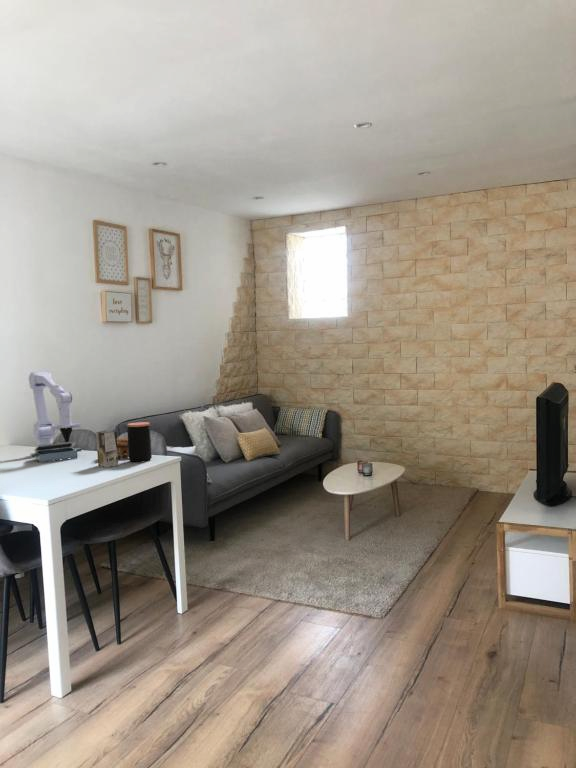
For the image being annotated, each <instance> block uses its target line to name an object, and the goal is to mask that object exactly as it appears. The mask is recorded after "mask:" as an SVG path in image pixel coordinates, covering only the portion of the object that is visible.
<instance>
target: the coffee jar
mask: <svg viewBox="0 0 576 768" xmlns="http://www.w3.org/2000/svg"><path fill="white" fill-rule="evenodd" d="M126 424H127V425H126V426H127V432H126V433H127V437H128V450H129V458H128V459H129V461H130V462H131V461H132V462H131V463H142V462H141V461H146V462H148V461H147V460H150V459H151V460H152V453H153V452H152V442H151V441H152V439H151V438H152V437H151V428H150V425H151V424H150V422H149V421H148V422H147V421H141V422H131V423H126ZM151 460H150V461H151Z"/></svg>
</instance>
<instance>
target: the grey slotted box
mask: <svg viewBox="0 0 576 768" xmlns="http://www.w3.org/2000/svg"><path fill="white" fill-rule="evenodd" d="M79 452H82V448H80V447H77V448H74V447H73V446H72V447H67V448H58V449H51V450H42V451H34V452H33V453H30V454H29V455H30V457H31V458H35V460H36V459H37V460H38V461H39V463H40V462H43V463H47V462H46V461H51V462H54V461H53V460H59V461H61V460H60V459H67V460H69V459H68V458H75V459H78V458H77V457H78V453H79ZM37 460H36V461H37ZM38 461H37V462H38Z"/></svg>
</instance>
